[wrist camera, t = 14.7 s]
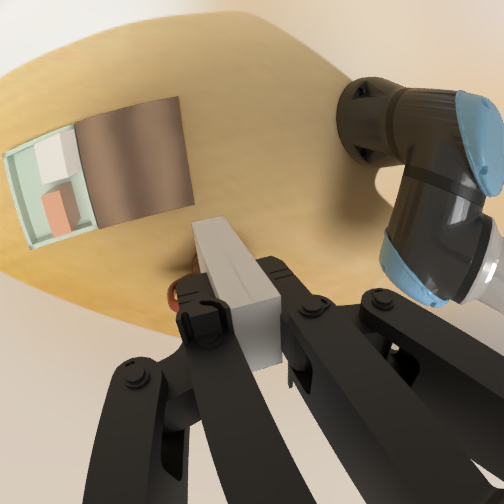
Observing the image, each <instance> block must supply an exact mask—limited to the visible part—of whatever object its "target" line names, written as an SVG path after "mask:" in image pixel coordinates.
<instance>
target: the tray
mask: <svg viewBox="0 0 504 504" xmlns="http://www.w3.org/2000/svg"><path fill="white" fill-rule="evenodd" d="M72 129H74V130H75V136H76V142H77V147H78V152H79V157H80V162H81V166H82V171H81V172H79V173H76V174H74V175H72V176H70V177H68V178H64V179H60V180H57V181H54V182H50V183H47V184H44V185H43V184H42V180H41V176H40V172H39V168H38V163H37V158H36V153H35V148H34V144H36V143H38V142H41V141H43V140H45V139H47V138H49V137H51V136H53V135H56V134H58V133H61V132H64V131H68V130H72ZM2 155H3V160H4V165H5V169H6V174H7V178H8V182H9V186H10V190H11V194H12V197H13V201H14V204H15V208H16V211H17V214H18V217H19V220H20V223H21V226H22V229H23V232H24V235H25V237H26V240H27V243H28V245H29V248H30V250H33V249H36V248H39V247H42V246H45V245H48V244H51V243H54V242H57V241H60V240H63V239H66V238H69V237H72V236H76V235H79V234H82V233H85V232H89V231H92V230H95V229H98V228H99V226H98V223H97V219H96V216H95V213H94V209H93V205H92V202H91V198H90V194H89V190H88V187H87V182H86V178H85V174H84V170H83V165H82V161H81V156H80V151H79V146H78V140H77V135H76V129H75V124H71V125H68V126H66V127H63V128H60V129H58V130H55V131H52V132H50V133H47V134H45V135H43V136H40V137H38V138H35V139H33V140H31V141H29V142H26V143H24V144H22V145H20V146H18V147H16V148H14V149H12V150H10V151H8V152H6V153H4V154H2ZM69 181H71V183H72V187H73V191H74V195H75V199H76V202H77V206H78V209H79V213H80V216H81V219H80V221H79V222H78V224H77V225H76V227H75V228H74V230H73V232H72V233H69V234H66V235H62V236H59V237H56V238H54V237H53V234H52V231H51V228H50V225H49V222H48V219H47V216H46V213H45V210H44V206H43V203H42V199H41V196H42V195H44V194H45V193H46V192H48V191H49V190H50V189H52V188H53V187H54V186H57V185H60V184H63V183H66V182H69Z"/></svg>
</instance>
